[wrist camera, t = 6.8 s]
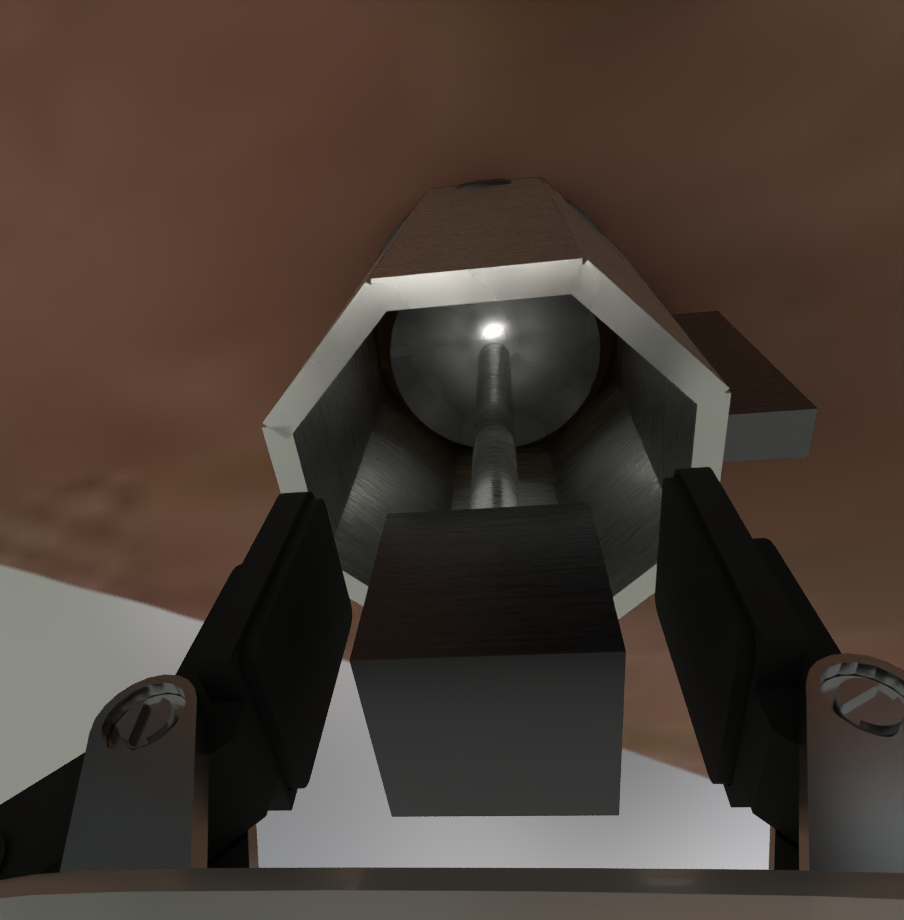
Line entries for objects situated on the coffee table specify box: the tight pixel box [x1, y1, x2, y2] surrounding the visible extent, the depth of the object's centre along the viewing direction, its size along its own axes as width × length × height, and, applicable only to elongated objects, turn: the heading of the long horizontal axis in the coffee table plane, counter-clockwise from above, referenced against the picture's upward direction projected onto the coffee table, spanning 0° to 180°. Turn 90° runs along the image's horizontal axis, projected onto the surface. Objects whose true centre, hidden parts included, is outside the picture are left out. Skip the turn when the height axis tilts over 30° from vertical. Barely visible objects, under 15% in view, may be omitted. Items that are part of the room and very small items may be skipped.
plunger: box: [350, 294, 626, 817], centre depth 14 cm, size 7×7×14 cm
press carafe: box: [262, 177, 818, 619], centre depth 18 cm, size 12×9×12 cm
